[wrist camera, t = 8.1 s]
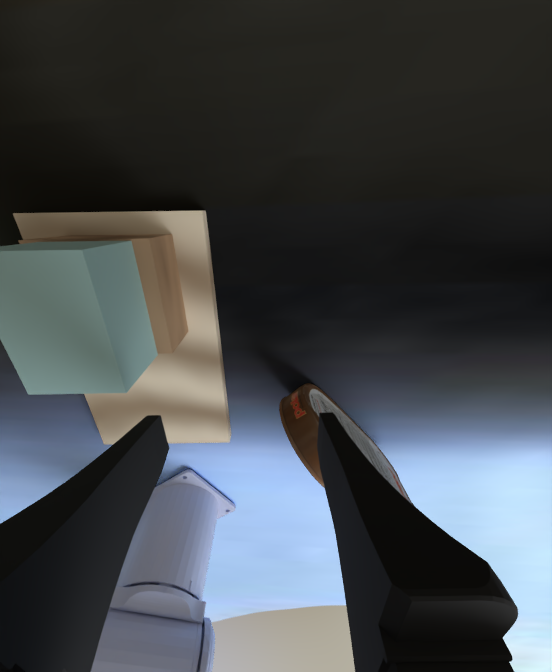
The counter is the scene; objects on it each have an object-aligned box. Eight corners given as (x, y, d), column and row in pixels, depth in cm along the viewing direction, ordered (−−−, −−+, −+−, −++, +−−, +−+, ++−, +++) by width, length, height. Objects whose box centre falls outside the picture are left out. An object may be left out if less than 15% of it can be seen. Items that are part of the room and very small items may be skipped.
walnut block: (97, 332, 20) (64, 354, 17) (65, 235, 17) (18, 240, 14) (188, 331, 20) (172, 353, 17) (172, 233, 17) (149, 238, 14)
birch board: (231, 434, 26) (229, 442, 25) (110, 436, 26) (104, 444, 25) (205, 210, 18) (202, 210, 17) (26, 213, 18) (12, 213, 17)
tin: (275, 381, 23) (276, 462, 16) (303, 360, 23) (317, 435, 15) (368, 467, 28) (403, 561, 21) (394, 453, 27) (440, 546, 20)
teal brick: (80, 356, 17) (28, 394, 13) (38, 242, 14) (-44, 251, 10) (157, 354, 17) (126, 392, 13) (131, 240, 14) (82, 249, 10)
